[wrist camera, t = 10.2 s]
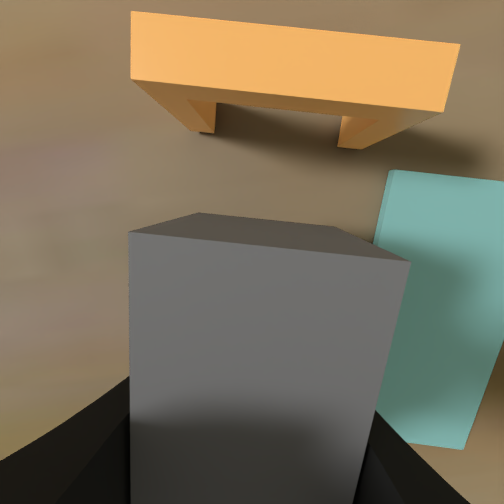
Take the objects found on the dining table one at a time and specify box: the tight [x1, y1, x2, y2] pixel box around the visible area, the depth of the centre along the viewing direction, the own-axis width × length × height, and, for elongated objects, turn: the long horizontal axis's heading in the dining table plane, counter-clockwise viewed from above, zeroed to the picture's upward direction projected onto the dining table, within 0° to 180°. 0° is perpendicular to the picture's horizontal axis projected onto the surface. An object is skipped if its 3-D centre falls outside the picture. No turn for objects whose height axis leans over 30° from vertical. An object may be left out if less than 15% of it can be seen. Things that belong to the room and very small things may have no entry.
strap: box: [131, 11, 460, 149], centre depth 10 cm, size 2×9×6 cm, turn 83°
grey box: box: [128, 213, 411, 504], centre depth 8 cm, size 12×5×5 cm, turn 174°
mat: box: [373, 170, 504, 450], centre depth 15 cm, size 16×8×1 cm, turn 174°
